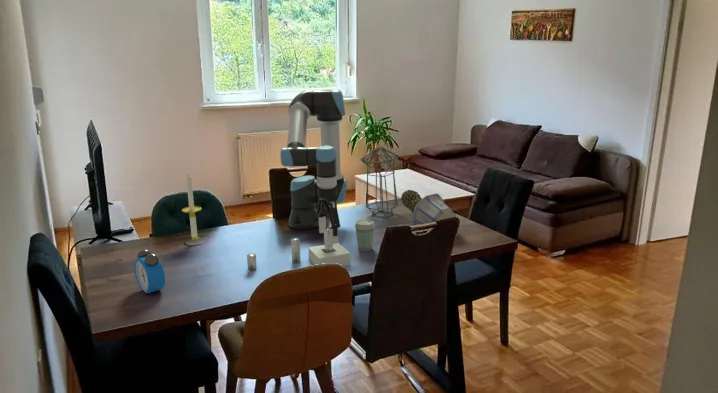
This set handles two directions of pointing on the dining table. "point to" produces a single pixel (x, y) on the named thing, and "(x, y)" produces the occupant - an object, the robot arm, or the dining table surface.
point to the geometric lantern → (381, 179)
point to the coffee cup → (365, 234)
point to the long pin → (327, 240)
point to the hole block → (329, 255)
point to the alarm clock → (149, 271)
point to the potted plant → (426, 207)
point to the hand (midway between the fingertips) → (328, 237)
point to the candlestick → (191, 208)
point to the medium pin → (295, 250)
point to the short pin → (251, 262)
